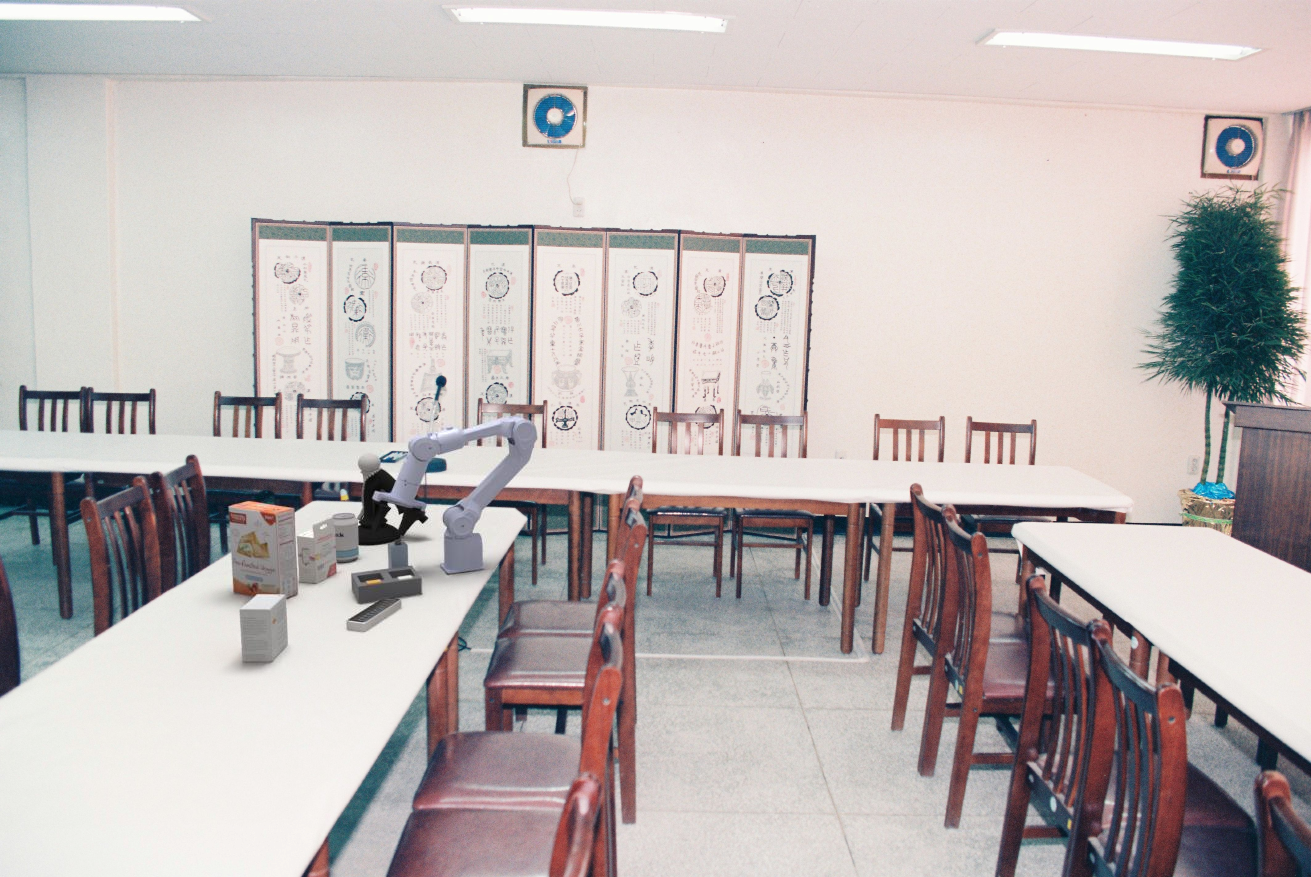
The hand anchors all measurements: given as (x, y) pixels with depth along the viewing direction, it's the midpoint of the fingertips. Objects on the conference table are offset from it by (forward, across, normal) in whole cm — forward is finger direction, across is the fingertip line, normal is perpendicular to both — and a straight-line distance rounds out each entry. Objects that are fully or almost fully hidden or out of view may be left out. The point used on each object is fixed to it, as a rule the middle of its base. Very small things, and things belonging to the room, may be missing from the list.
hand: (387, 532), depth 190 cm
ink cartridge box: (+17, +7, -9) cm, 20 cm away
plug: (+10, -6, +2) cm, 12 cm away
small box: (+21, +34, +25) cm, 47 cm away
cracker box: (+21, +20, -6) cm, 30 cm away
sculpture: (+9, -21, -27) cm, 36 cm away
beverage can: (+14, -4, -18) cm, 23 cm away
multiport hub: (+14, +12, +23) cm, 29 cm away
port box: (+11, +2, +11) cm, 16 cm away
